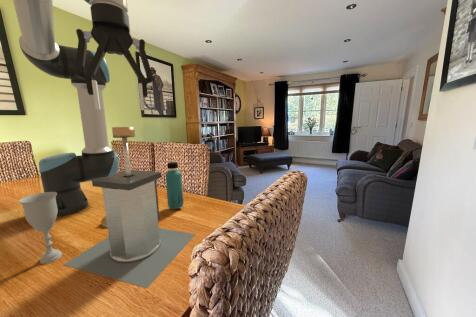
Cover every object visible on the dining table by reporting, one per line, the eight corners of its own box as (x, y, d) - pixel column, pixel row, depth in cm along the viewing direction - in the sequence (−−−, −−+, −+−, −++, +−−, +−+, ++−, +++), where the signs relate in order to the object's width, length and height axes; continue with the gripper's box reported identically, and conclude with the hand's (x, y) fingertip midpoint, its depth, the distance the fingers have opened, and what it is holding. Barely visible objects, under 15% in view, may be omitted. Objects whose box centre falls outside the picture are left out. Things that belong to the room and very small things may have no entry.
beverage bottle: (179, 212, 81) (176, 164, 78) (164, 211, 83) (160, 163, 79) (186, 206, 88) (184, 161, 84) (172, 205, 89) (169, 160, 85)
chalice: (49, 251, 58) (37, 192, 54) (74, 250, 58) (64, 191, 55) (25, 270, 50) (9, 203, 47) (54, 268, 51) (40, 202, 48)
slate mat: (63, 266, 52) (63, 264, 52) (131, 224, 72) (130, 223, 72) (147, 290, 44) (147, 288, 44) (195, 235, 65) (195, 234, 65)
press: (98, 258, 54) (86, 181, 50) (142, 227, 69) (136, 166, 65) (138, 267, 50) (128, 185, 46) (175, 233, 65) (170, 169, 61)
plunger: (104, 215, 53) (92, 127, 49) (132, 201, 62) (123, 126, 57) (133, 220, 50) (122, 128, 46) (157, 205, 59) (150, 126, 55)
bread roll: (96, 228, 71) (94, 217, 70) (115, 216, 79) (114, 206, 79) (117, 230, 69) (115, 219, 68) (134, 217, 78) (133, 208, 77)
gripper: (41, -14, 38) (61, 108, 43) (161, 13, 48) (168, 109, 53) (53, 6, 45) (70, 109, 49) (157, 26, 55) (164, 110, 59)
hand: (121, 109), depth 51 cm, fingers open, 9 cm apart
